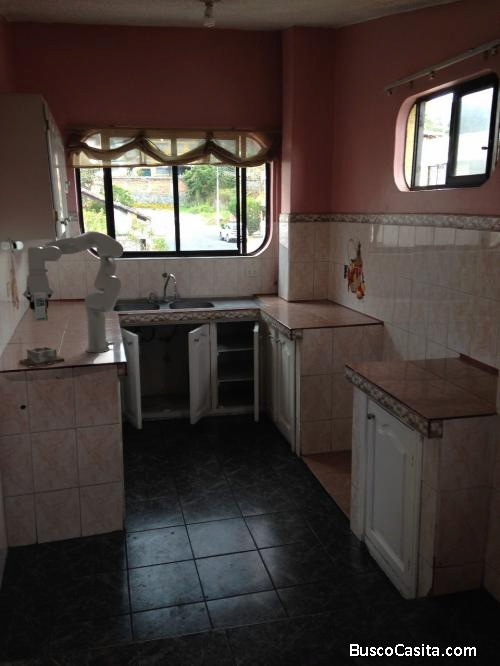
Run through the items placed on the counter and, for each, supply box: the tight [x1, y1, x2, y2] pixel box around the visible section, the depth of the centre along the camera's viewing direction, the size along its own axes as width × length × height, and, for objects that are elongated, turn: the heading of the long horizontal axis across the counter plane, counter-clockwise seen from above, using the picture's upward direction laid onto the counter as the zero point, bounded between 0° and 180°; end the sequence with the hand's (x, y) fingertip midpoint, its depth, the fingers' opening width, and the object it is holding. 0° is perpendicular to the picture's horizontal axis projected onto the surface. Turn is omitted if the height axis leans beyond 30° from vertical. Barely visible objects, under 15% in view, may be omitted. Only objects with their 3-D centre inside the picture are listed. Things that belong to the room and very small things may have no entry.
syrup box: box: [31, 292, 49, 323], centre depth 294 cm, size 6×6×14 cm
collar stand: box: [18, 345, 65, 367], centre depth 299 cm, size 18×12×6 cm, turn 135°
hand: (39, 308), depth 294 cm, fingers closed on syrup box, 6 cm apart
